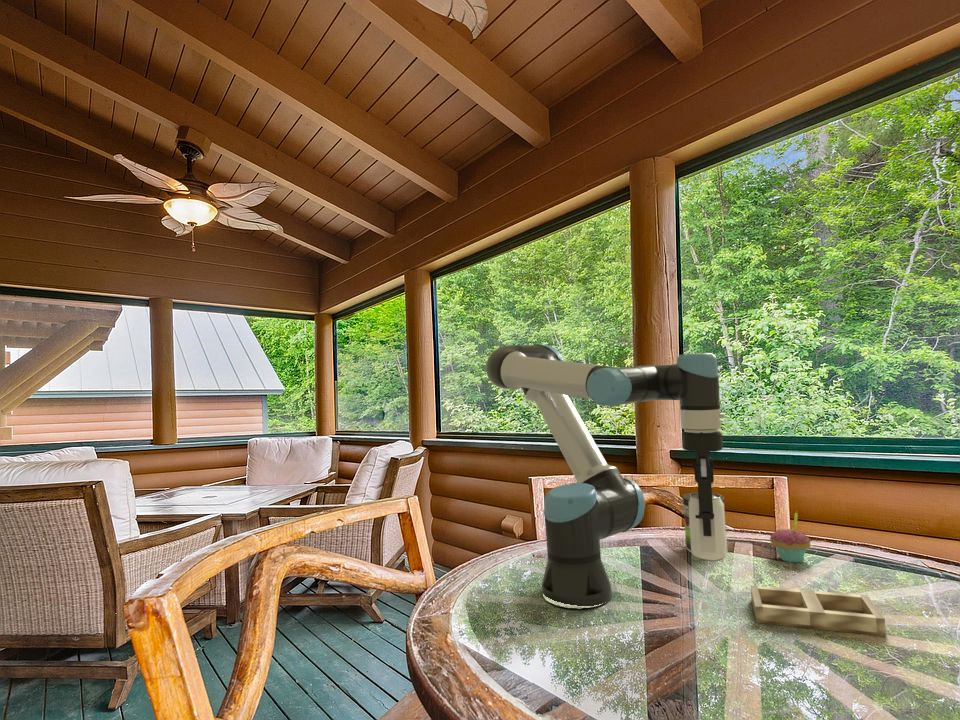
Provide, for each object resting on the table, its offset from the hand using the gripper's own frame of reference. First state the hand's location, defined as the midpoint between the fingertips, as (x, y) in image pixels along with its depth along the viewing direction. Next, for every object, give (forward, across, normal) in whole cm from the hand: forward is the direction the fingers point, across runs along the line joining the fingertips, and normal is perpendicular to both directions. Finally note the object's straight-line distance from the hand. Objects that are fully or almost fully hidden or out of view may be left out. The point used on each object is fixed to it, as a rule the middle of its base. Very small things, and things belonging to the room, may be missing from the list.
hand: (708, 545), depth 105 cm
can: (+2, 0, 0) cm, 2 cm away
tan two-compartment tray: (+13, +2, -18) cm, 22 cm away
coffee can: (+13, +37, 0) cm, 39 cm away
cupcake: (+13, +34, -19) cm, 41 cm away
